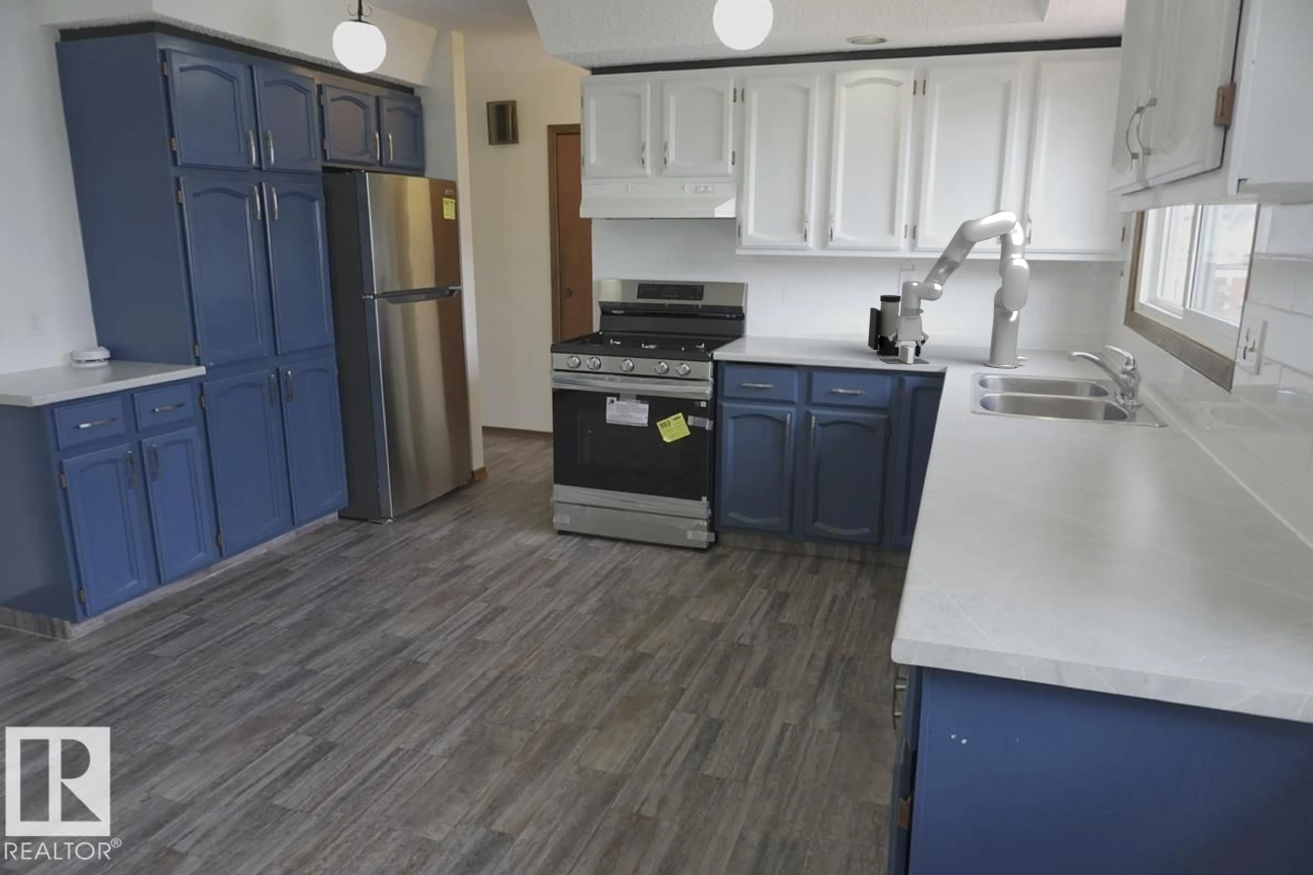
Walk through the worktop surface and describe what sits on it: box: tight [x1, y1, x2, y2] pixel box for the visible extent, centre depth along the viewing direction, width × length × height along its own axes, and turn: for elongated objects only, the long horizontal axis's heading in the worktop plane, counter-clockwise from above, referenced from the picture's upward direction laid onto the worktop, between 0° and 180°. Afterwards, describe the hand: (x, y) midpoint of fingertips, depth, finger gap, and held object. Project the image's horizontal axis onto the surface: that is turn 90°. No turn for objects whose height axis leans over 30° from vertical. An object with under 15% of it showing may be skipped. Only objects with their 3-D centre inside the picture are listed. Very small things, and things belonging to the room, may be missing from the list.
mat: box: [879, 358, 930, 365], centre depth 353 cm, size 17×10×1 cm, turn 95°
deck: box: [898, 344, 915, 363], centre depth 350 cm, size 2×9×6 cm, turn 5°
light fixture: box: [867, 294, 902, 357], centre depth 368 cm, size 12×11×25 cm
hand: (906, 356), depth 350 cm, fingers open, 8 cm apart
